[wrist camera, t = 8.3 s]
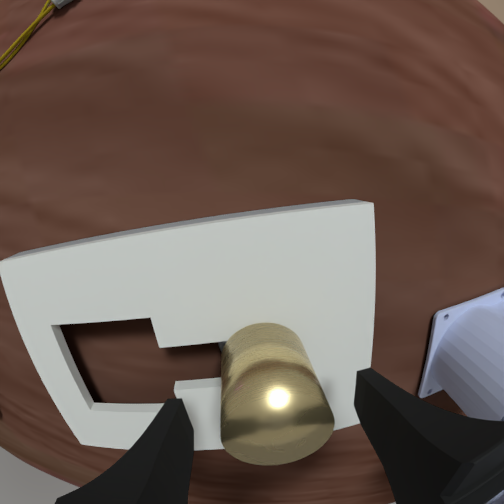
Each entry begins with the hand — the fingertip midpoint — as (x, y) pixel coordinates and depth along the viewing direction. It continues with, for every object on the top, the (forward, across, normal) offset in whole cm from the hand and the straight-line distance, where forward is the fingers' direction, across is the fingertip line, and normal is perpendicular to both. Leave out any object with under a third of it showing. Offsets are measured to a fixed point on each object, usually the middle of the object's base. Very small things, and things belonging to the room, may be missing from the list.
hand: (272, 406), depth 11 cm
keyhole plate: (+6, +4, 0) cm, 7 cm away
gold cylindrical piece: (+6, 0, 0) cm, 6 cm away
